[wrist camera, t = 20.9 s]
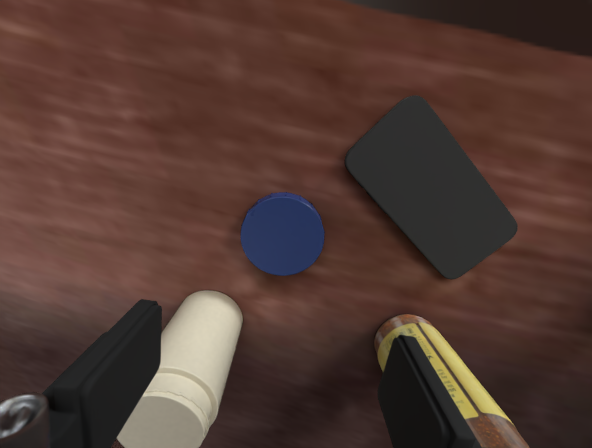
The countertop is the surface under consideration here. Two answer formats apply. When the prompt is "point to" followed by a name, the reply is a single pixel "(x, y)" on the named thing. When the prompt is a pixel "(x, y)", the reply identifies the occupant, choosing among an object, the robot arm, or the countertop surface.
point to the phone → (430, 188)
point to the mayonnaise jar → (187, 375)
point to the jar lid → (282, 234)
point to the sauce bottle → (453, 381)
